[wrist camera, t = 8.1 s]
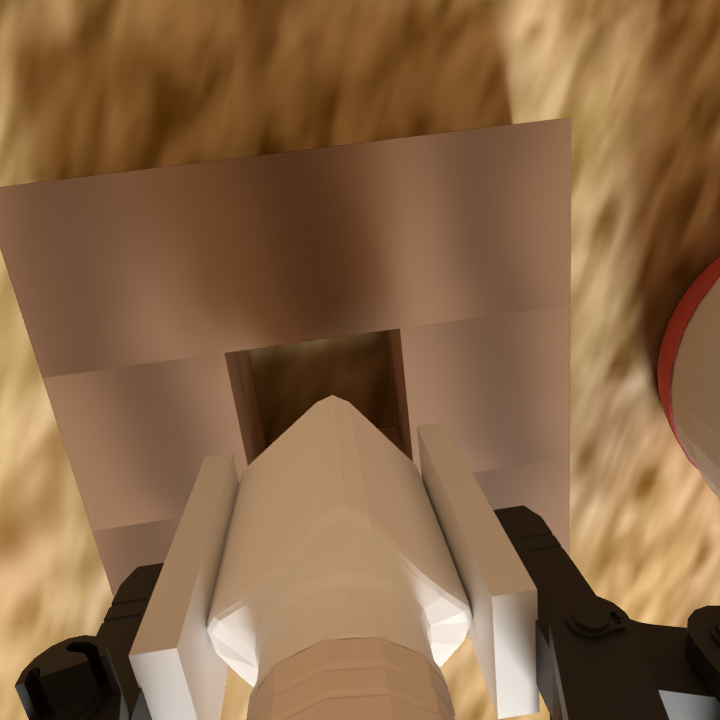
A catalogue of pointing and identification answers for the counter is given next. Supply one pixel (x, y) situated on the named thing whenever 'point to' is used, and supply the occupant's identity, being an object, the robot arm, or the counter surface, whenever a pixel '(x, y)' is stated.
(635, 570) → the counter surface
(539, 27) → the counter surface
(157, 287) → the socket block
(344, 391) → the counter surface
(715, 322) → the citrus juicer
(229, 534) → the pepper shaker
